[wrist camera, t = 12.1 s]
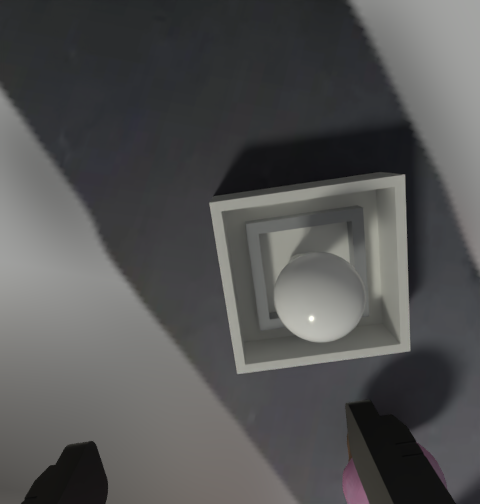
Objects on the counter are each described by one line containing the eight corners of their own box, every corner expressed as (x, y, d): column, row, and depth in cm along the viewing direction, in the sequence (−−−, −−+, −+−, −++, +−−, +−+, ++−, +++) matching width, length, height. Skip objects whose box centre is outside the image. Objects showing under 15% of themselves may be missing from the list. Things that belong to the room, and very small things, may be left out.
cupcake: (345, 478, 41) (379, 577, 31) (315, 418, 39) (341, 504, 29) (420, 448, 40) (479, 541, 30) (393, 386, 38) (447, 463, 28)
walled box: (213, 196, 33) (209, 202, 28) (380, 172, 33) (404, 174, 28) (237, 345, 37) (237, 374, 32) (387, 325, 36) (410, 351, 31)
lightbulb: (283, 220, 33) (306, 249, 22) (347, 248, 33) (398, 289, 23) (254, 282, 34) (262, 338, 23) (316, 308, 35) (350, 374, 24)
